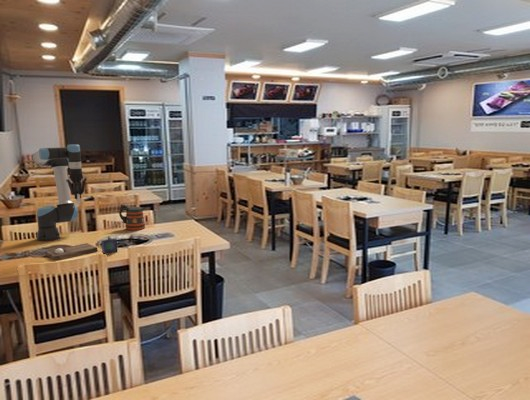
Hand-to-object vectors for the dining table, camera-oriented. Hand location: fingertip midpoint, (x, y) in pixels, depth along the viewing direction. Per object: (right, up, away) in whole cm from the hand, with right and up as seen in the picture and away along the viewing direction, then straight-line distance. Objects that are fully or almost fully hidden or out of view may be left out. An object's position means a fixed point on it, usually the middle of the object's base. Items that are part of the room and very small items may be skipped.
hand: (78, 203), depth 272 cm
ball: (-5, -30, -16) cm, 35 cm away
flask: (+25, -31, -10) cm, 41 cm away
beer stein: (+18, -21, +55) cm, 61 cm away
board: (+1, -32, -10) cm, 33 cm away
